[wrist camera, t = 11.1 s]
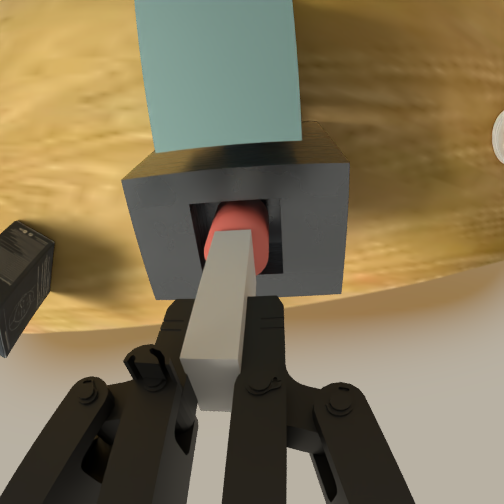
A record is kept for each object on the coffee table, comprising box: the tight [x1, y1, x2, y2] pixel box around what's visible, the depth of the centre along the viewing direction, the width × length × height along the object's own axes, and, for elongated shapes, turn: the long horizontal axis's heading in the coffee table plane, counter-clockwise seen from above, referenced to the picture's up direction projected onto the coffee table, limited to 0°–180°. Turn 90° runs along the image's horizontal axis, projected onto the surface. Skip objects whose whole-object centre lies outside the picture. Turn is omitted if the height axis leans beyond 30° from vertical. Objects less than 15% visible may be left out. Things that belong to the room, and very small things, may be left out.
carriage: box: [135, 0, 302, 153], centre depth 14 cm, size 6×8×9 cm
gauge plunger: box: [204, 199, 269, 276], centre depth 16 cm, size 3×3×4 cm
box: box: [0, 221, 55, 358], centre depth 25 cm, size 8×6×11 cm
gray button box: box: [121, 121, 350, 300], centre depth 19 cm, size 10×7×10 cm
